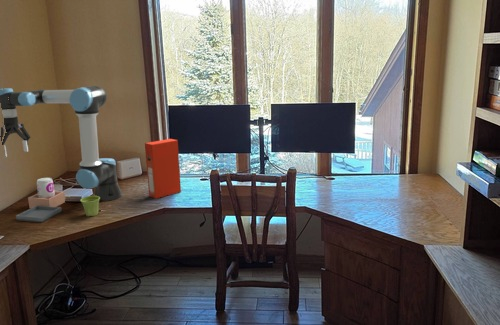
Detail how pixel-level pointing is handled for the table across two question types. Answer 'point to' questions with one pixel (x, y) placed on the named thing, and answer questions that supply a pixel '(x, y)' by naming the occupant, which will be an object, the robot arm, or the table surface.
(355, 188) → the table surface
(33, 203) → the holder
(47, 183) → the supplement can
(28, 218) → the tray
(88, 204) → the plant pot
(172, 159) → the file binder
